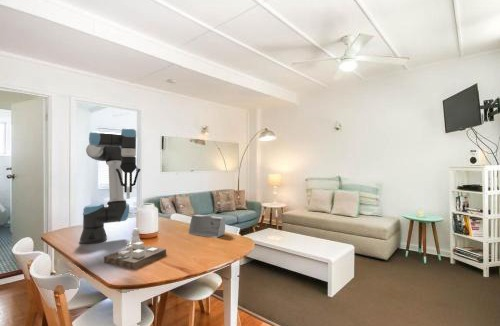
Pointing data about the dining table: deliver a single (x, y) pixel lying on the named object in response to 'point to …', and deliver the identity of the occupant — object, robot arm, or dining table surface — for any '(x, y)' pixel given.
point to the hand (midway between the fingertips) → (128, 198)
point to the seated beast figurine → (134, 237)
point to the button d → (152, 250)
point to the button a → (123, 252)
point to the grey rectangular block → (207, 226)
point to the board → (134, 262)
